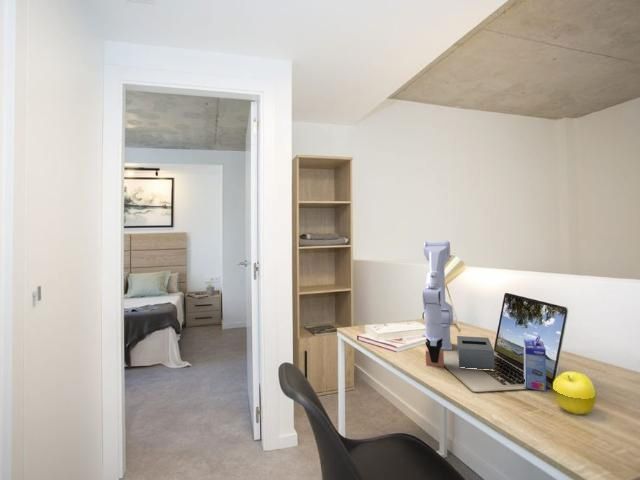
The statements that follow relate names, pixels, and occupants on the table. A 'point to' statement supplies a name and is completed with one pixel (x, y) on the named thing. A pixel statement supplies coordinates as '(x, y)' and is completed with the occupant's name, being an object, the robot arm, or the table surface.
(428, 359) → the reddish brown block
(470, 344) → the money box
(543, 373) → the ink cartridge box
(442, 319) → the robot arm
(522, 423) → the table surface
